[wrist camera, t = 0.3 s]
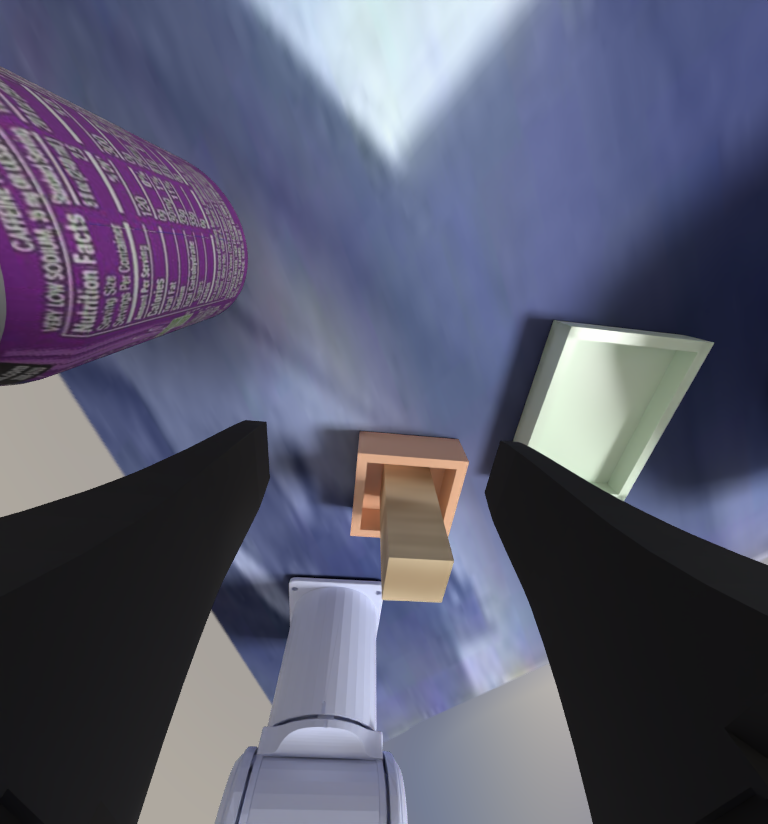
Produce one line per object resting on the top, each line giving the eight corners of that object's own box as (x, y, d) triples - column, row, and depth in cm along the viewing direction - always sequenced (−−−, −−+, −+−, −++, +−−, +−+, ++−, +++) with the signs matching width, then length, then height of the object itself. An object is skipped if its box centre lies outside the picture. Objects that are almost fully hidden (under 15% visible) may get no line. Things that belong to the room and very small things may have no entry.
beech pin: (421, 499, 22) (441, 602, 16) (379, 496, 22) (381, 599, 16) (428, 464, 21) (453, 561, 14) (384, 461, 21) (389, 557, 14)
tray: (605, 485, 23) (623, 502, 22) (500, 477, 23) (510, 493, 21) (684, 335, 18) (714, 342, 17) (553, 320, 18) (571, 326, 16)
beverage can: (71, 229, 15) (-651, 161, 5) (163, 113, 14) (-661, -447, 3) (193, 344, 18) (-83, 476, 7) (282, 259, 16) (98, 265, 5)
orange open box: (439, 513, 24) (446, 541, 22) (352, 508, 23) (350, 535, 21) (458, 439, 21) (468, 461, 19) (359, 431, 21) (357, 453, 18)
